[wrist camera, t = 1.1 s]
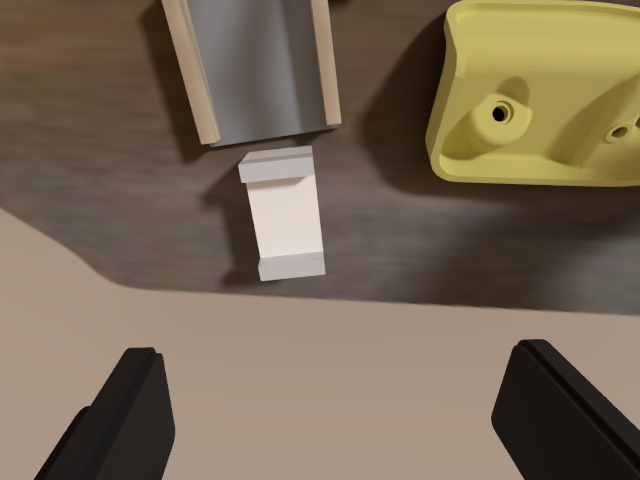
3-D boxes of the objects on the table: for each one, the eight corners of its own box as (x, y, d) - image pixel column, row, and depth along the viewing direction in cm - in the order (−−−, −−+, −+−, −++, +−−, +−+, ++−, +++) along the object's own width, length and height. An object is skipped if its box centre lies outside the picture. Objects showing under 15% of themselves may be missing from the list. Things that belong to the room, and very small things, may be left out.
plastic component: (423, 181, 27) (465, 39, 19) (411, 127, 32) (441, -3, 24) (687, 189, 26) (838, 48, 19) (634, 134, 31) (737, 4, 23)
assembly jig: (318, -50, 23) (320, -66, 20) (338, 126, 27) (342, 130, 25) (167, -25, 23) (151, -38, 20) (212, 145, 27) (203, 151, 25)
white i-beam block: (311, 145, 28) (312, 156, 23) (322, 246, 31) (325, 274, 27) (249, 151, 28) (238, 164, 23) (267, 252, 31) (260, 281, 27)
